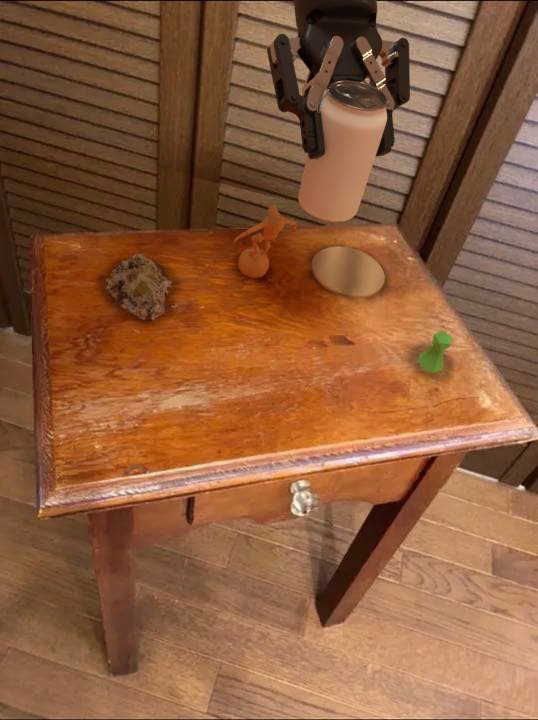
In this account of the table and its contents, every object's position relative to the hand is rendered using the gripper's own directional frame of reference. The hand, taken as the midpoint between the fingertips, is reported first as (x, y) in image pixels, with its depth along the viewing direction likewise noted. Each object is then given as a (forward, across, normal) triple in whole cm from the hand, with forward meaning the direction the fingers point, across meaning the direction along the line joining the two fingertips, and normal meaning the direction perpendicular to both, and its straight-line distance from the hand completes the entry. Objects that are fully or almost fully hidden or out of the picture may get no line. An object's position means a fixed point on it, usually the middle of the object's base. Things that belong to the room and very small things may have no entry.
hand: (350, 155), depth 56 cm
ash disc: (+11, +9, +20) cm, 25 cm away
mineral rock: (+11, -18, +21) cm, 30 cm away
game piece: (+23, +12, +9) cm, 28 cm away
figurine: (+10, -4, +22) cm, 24 cm away
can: (+4, 0, +6) cm, 7 cm away
